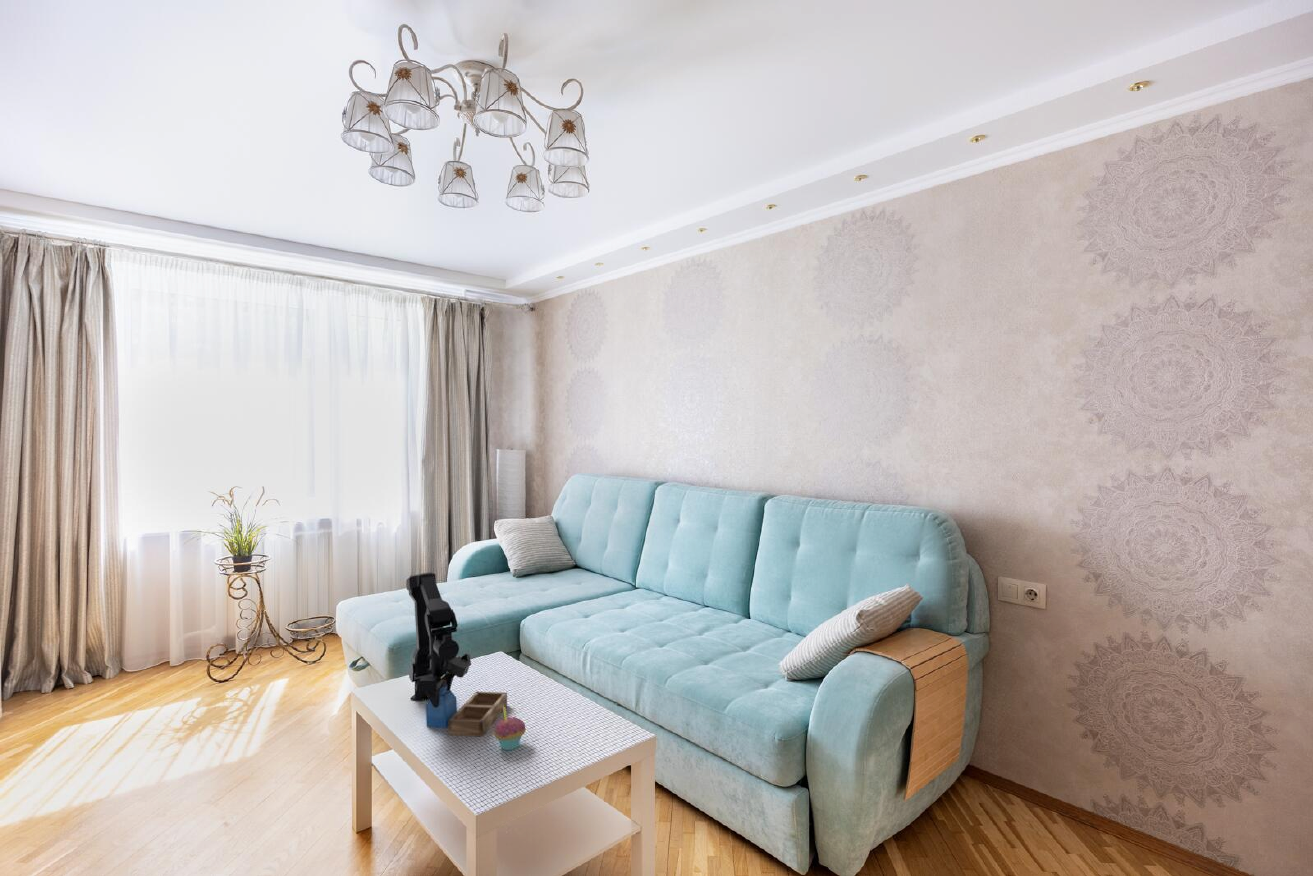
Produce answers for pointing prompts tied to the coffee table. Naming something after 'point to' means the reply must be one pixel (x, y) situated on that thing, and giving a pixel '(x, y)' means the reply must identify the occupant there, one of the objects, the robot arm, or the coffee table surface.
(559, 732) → the coffee table surface
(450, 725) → the wooden divided tray
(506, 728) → the cupcake
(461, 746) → the coffee table surface
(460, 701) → the coffee table surface
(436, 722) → the perfume bottle
